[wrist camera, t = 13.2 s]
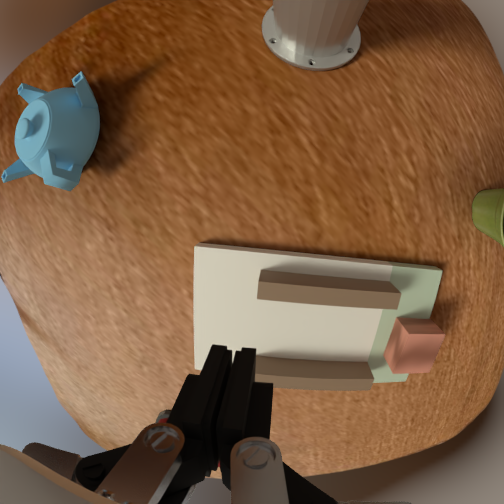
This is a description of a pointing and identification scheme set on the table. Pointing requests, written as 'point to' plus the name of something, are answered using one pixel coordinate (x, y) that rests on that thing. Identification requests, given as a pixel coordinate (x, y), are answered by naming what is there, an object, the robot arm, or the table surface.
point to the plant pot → (489, 213)
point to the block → (413, 345)
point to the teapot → (56, 134)
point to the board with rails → (306, 313)
